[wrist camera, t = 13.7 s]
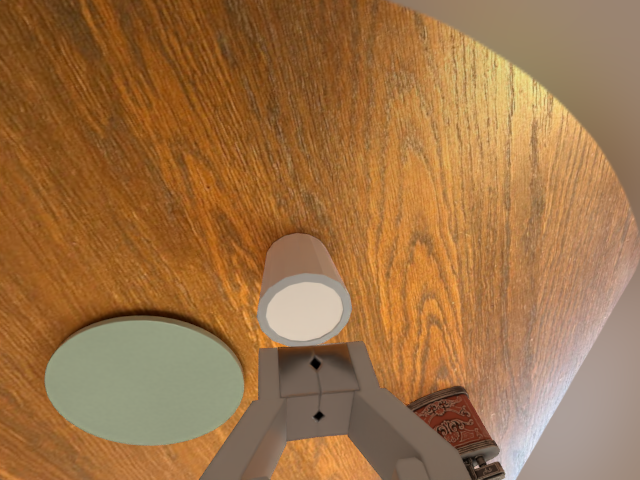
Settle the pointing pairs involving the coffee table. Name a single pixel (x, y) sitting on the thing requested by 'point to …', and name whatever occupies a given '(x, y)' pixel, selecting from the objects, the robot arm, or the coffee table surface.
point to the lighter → (461, 430)
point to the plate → (144, 380)
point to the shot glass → (301, 293)
